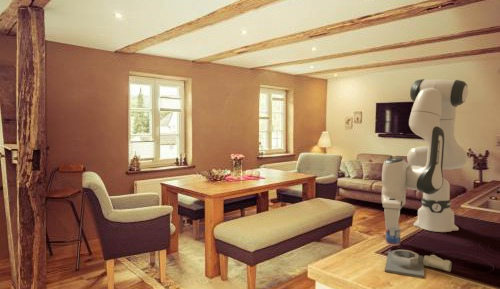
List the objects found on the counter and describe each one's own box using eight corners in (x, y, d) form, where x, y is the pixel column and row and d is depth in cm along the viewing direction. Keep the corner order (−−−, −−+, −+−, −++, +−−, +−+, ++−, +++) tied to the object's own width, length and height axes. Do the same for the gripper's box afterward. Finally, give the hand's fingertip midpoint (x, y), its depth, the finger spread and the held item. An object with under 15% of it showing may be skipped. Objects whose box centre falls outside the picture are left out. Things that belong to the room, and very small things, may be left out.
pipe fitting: (428, 262, 126) (423, 267, 121) (428, 252, 126) (423, 256, 121) (453, 268, 121) (448, 273, 116) (453, 257, 121) (449, 262, 116)
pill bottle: (382, 242, 140) (382, 219, 139) (392, 240, 142) (391, 217, 141) (394, 247, 135) (394, 222, 134) (403, 244, 137) (403, 220, 137)
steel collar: (392, 256, 129) (392, 248, 129) (418, 259, 125) (418, 251, 125) (390, 265, 121) (391, 256, 121) (418, 269, 117) (418, 260, 117)
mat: (388, 253, 134) (388, 251, 134) (423, 257, 129) (423, 255, 129) (384, 271, 118) (384, 269, 118) (424, 278, 112) (424, 275, 112)
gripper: (387, 192, 148) (387, 224, 149) (382, 204, 129) (381, 239, 131) (403, 193, 145) (403, 225, 146) (400, 205, 127) (399, 242, 128)
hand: (393, 232), depth 138 cm, fingers open, 5 cm apart
